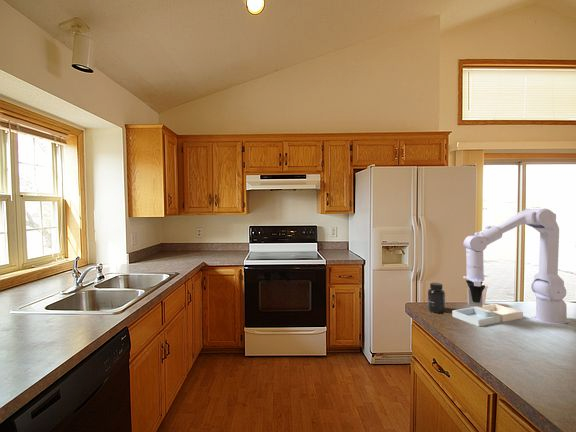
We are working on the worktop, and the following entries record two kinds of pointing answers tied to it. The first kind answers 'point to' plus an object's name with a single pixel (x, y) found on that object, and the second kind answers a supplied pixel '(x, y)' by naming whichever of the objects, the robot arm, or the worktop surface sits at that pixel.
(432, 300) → the supplement bottle
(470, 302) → the stone block
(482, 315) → the bin
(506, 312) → the bin
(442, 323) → the worktop surface
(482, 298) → the smoothie
